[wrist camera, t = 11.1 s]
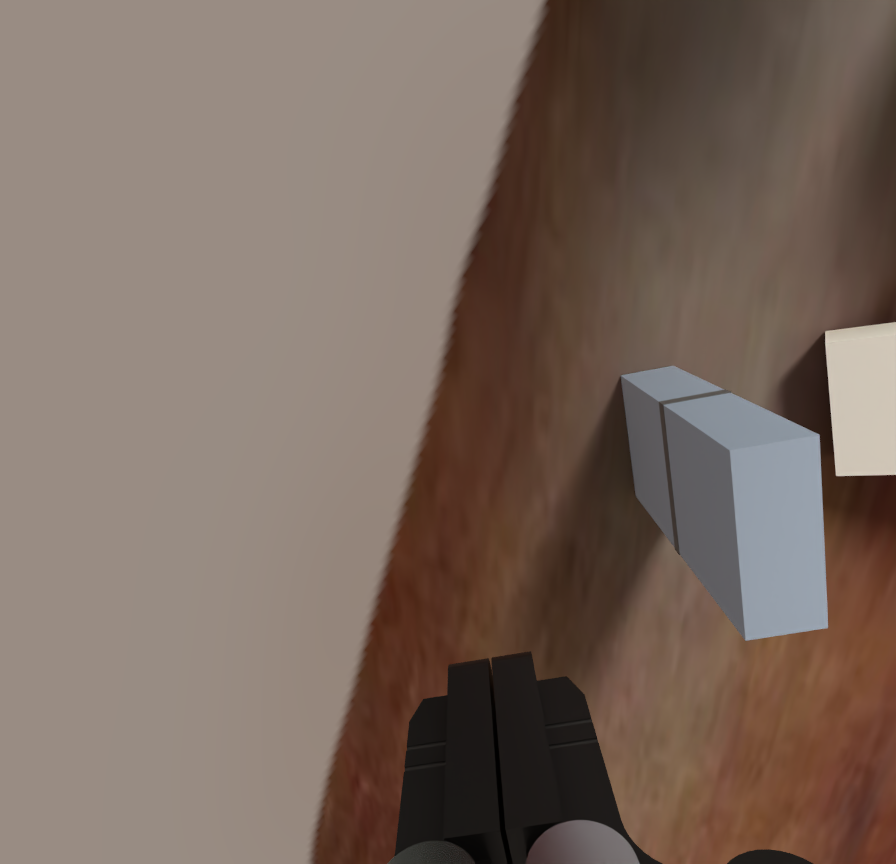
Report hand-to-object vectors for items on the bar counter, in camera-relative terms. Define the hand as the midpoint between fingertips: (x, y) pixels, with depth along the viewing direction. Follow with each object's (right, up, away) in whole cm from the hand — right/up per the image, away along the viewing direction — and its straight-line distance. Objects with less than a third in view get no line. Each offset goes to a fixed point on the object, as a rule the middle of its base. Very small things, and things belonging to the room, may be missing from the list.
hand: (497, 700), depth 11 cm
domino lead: (+7, +5, +13) cm, 16 cm away
